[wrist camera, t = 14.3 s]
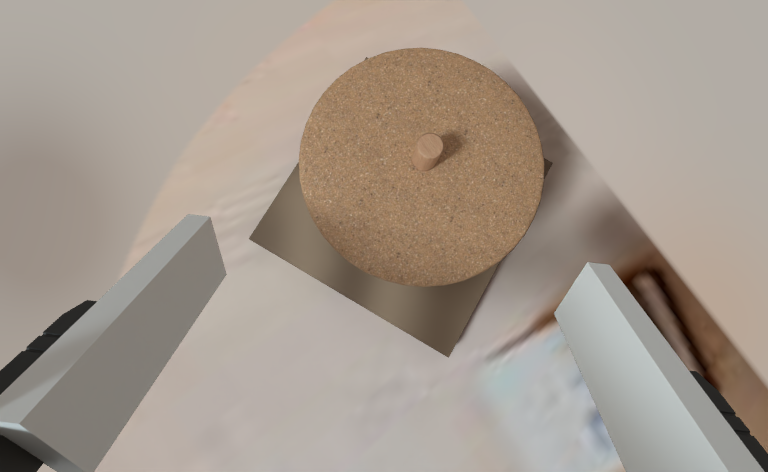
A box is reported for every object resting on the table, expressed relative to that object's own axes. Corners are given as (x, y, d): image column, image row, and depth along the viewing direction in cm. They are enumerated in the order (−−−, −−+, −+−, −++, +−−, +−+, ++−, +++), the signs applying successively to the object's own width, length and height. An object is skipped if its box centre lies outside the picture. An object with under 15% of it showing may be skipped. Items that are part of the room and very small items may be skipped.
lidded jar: (421, 96, 22) (457, -32, 13) (516, 219, 21) (626, 178, 12) (293, 182, 21) (230, 112, 12) (387, 315, 20) (400, 351, 11)
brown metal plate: (541, 170, 23) (552, 163, 22) (443, 351, 22) (448, 357, 20) (366, 70, 24) (366, 57, 22) (257, 241, 22) (248, 238, 21)
